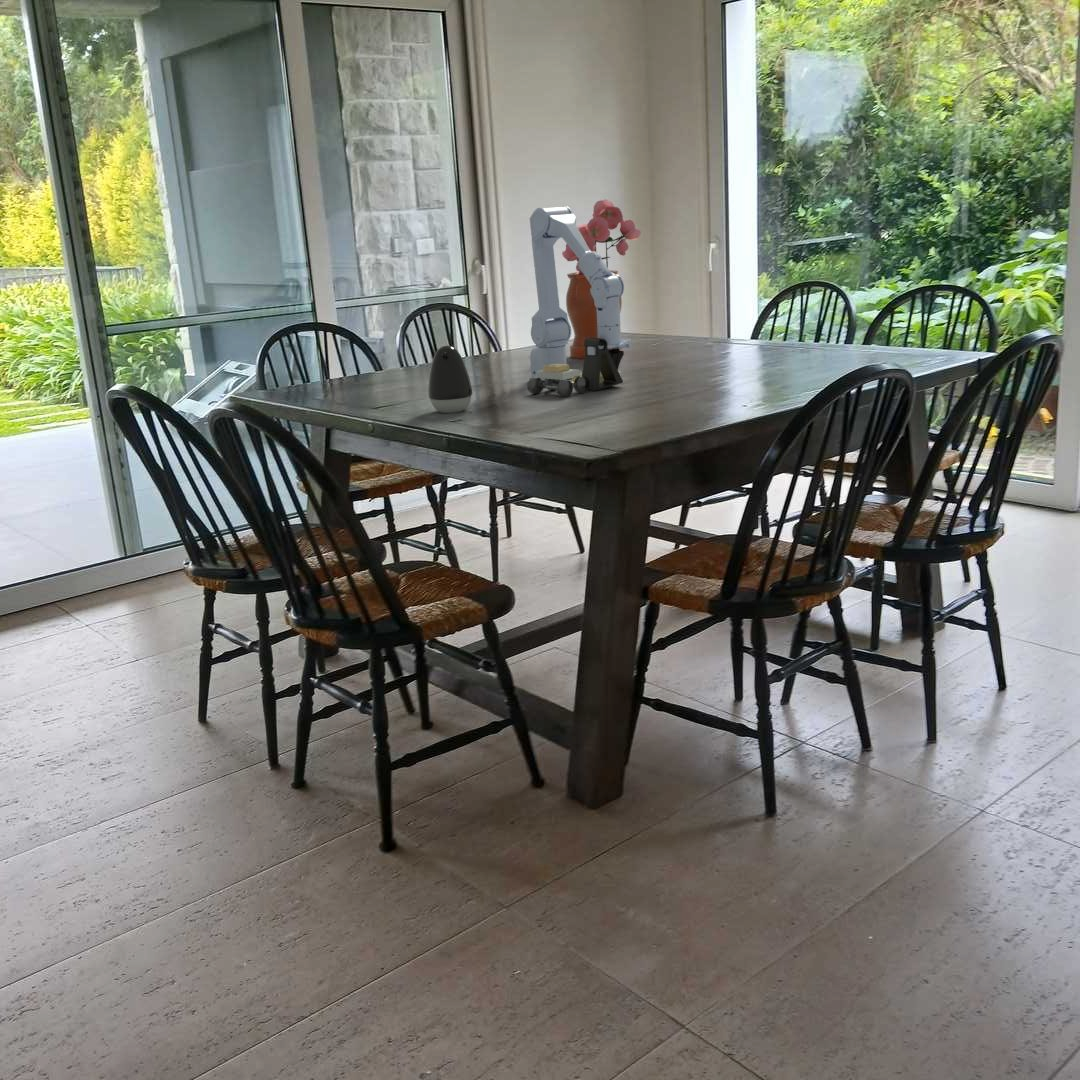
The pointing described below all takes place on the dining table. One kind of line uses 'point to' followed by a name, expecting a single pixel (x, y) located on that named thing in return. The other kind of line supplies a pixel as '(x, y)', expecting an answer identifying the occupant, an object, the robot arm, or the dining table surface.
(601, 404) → the dining table surface
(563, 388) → the toy rover
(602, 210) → the potted flower
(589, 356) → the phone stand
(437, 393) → the egg shaped device
